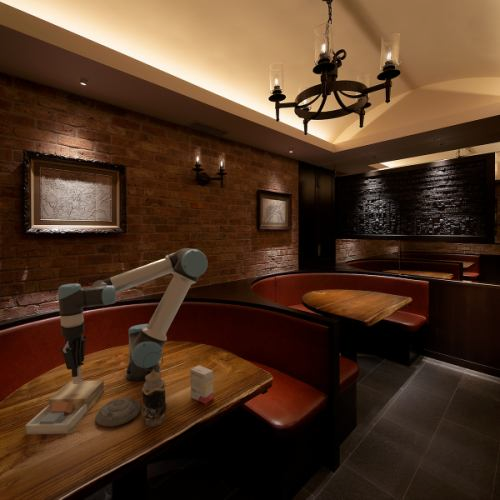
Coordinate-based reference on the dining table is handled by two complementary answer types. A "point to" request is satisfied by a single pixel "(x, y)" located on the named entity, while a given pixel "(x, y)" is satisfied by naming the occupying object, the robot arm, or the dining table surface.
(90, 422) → the dining table surface
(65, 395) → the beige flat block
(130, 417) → the flying saucer
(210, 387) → the ink box
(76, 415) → the tray
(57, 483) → the dining table surface
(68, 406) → the salmon orange square block
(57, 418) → the slate gray square block
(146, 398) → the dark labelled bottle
